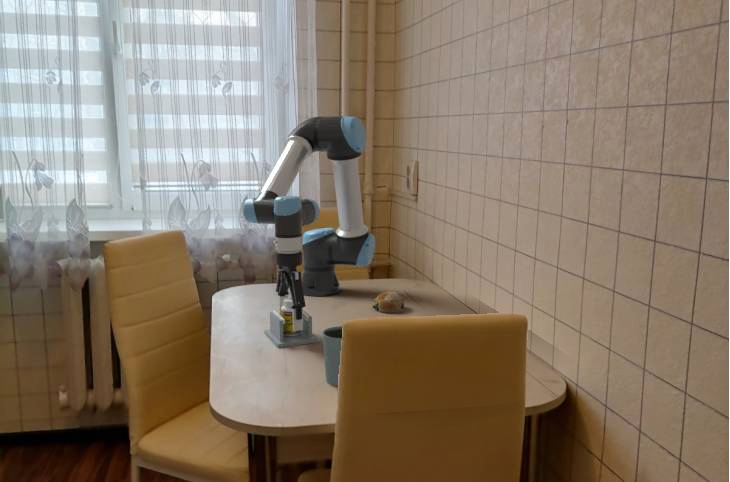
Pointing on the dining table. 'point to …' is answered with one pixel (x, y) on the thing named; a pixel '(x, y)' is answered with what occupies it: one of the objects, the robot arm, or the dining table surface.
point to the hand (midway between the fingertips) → (290, 323)
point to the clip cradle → (284, 341)
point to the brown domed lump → (389, 302)
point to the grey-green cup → (332, 353)
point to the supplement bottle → (288, 318)
